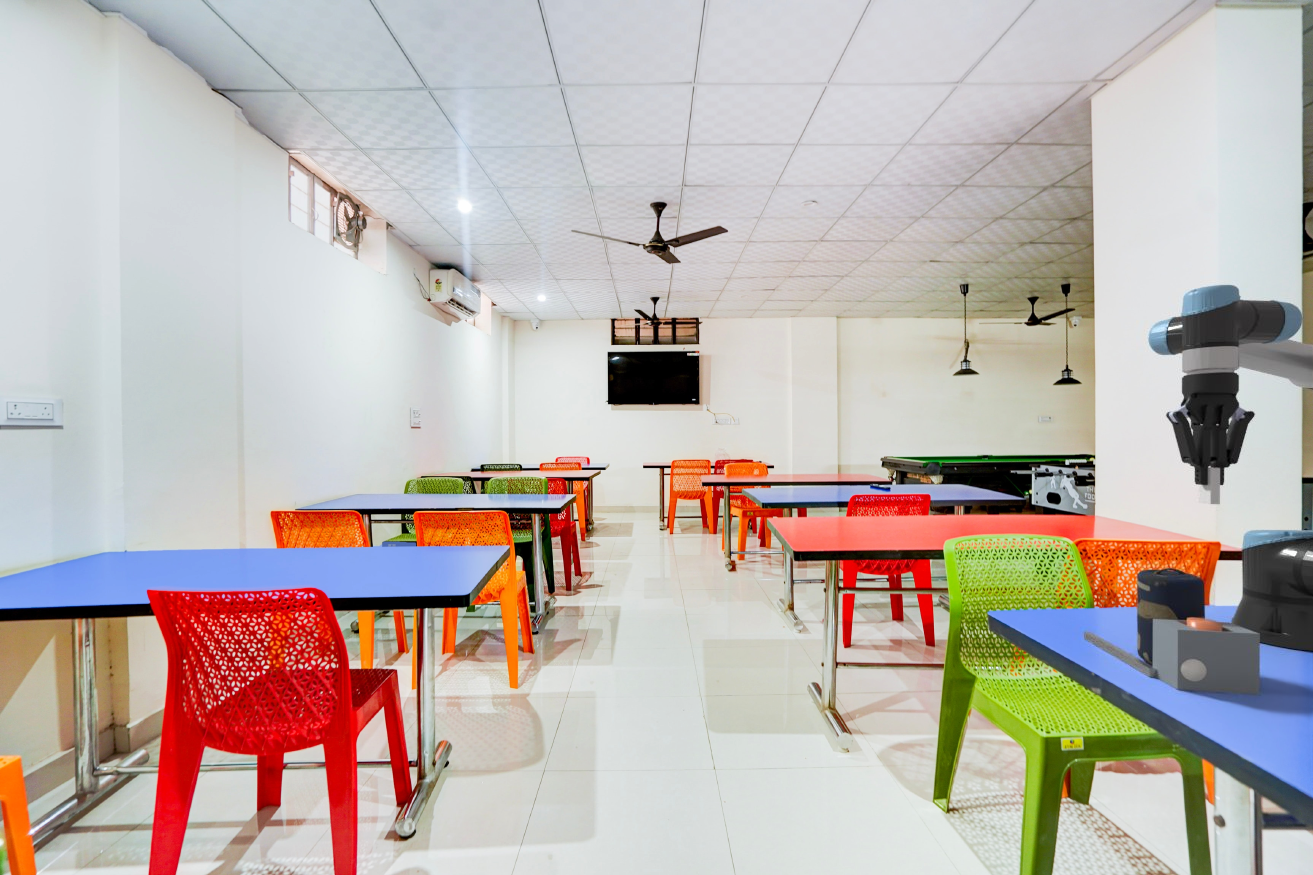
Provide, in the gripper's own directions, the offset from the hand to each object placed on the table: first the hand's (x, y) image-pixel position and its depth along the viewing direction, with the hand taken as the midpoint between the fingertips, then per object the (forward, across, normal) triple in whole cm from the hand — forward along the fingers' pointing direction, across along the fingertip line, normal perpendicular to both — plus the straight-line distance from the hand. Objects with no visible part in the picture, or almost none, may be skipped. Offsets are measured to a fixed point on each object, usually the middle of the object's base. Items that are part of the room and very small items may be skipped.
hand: (1209, 503), depth 106 cm
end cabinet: (+30, +6, +7) cm, 32 cm away
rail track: (+30, +5, -5) cm, 31 cm away
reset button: (+24, +6, +7) cm, 26 cm away
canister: (+31, +5, -2) cm, 31 cm away
